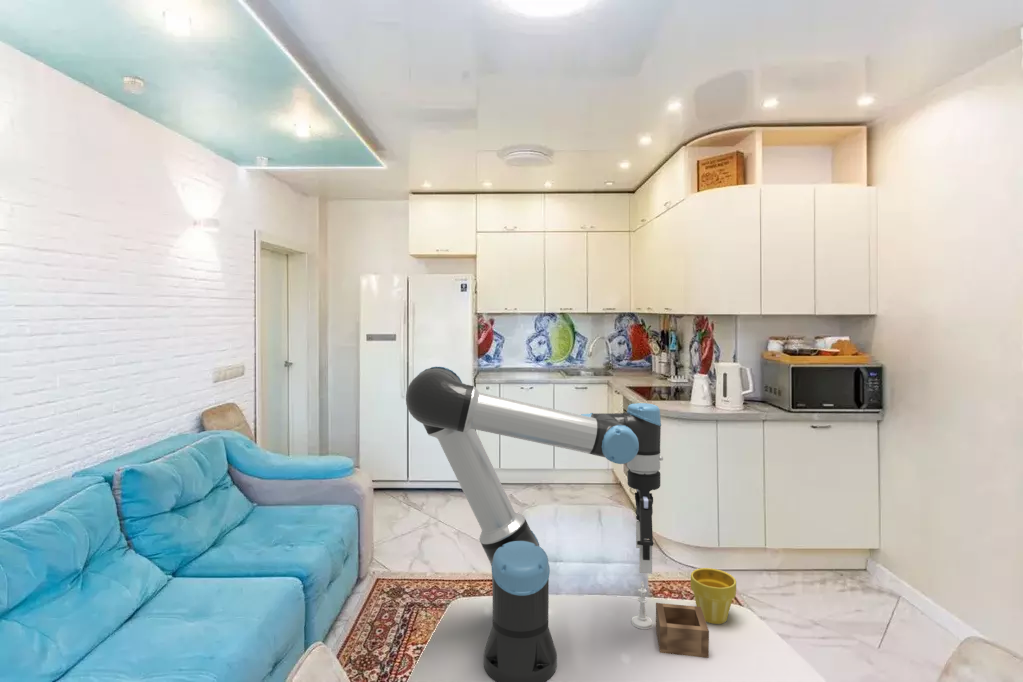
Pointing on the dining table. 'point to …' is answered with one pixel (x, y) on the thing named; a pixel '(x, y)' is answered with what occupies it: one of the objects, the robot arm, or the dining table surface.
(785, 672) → the dining table surface
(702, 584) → the plant pot
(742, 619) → the dining table surface
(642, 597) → the chess piece
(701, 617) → the walnut holder
